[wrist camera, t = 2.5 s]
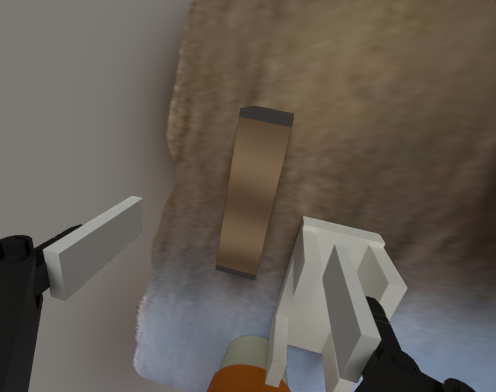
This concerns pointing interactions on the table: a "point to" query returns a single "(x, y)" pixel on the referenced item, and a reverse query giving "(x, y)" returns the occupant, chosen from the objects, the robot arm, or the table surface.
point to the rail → (252, 188)
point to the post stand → (313, 296)
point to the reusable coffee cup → (246, 368)
